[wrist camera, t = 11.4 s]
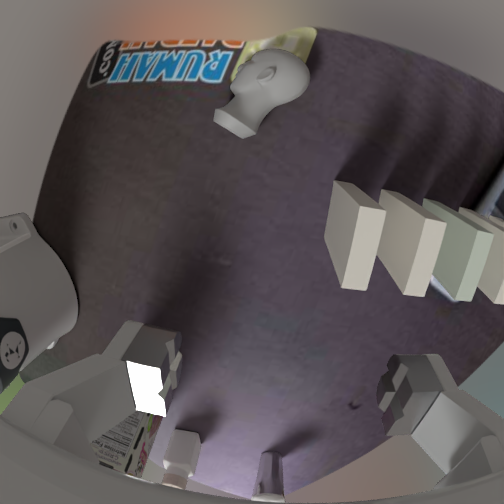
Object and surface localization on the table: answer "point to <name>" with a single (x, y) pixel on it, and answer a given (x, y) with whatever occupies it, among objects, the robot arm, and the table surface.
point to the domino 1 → (353, 234)
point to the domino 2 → (409, 242)
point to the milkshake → (269, 479)
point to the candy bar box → (128, 443)
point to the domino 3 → (459, 251)
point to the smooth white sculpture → (262, 90)
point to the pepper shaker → (181, 458)
